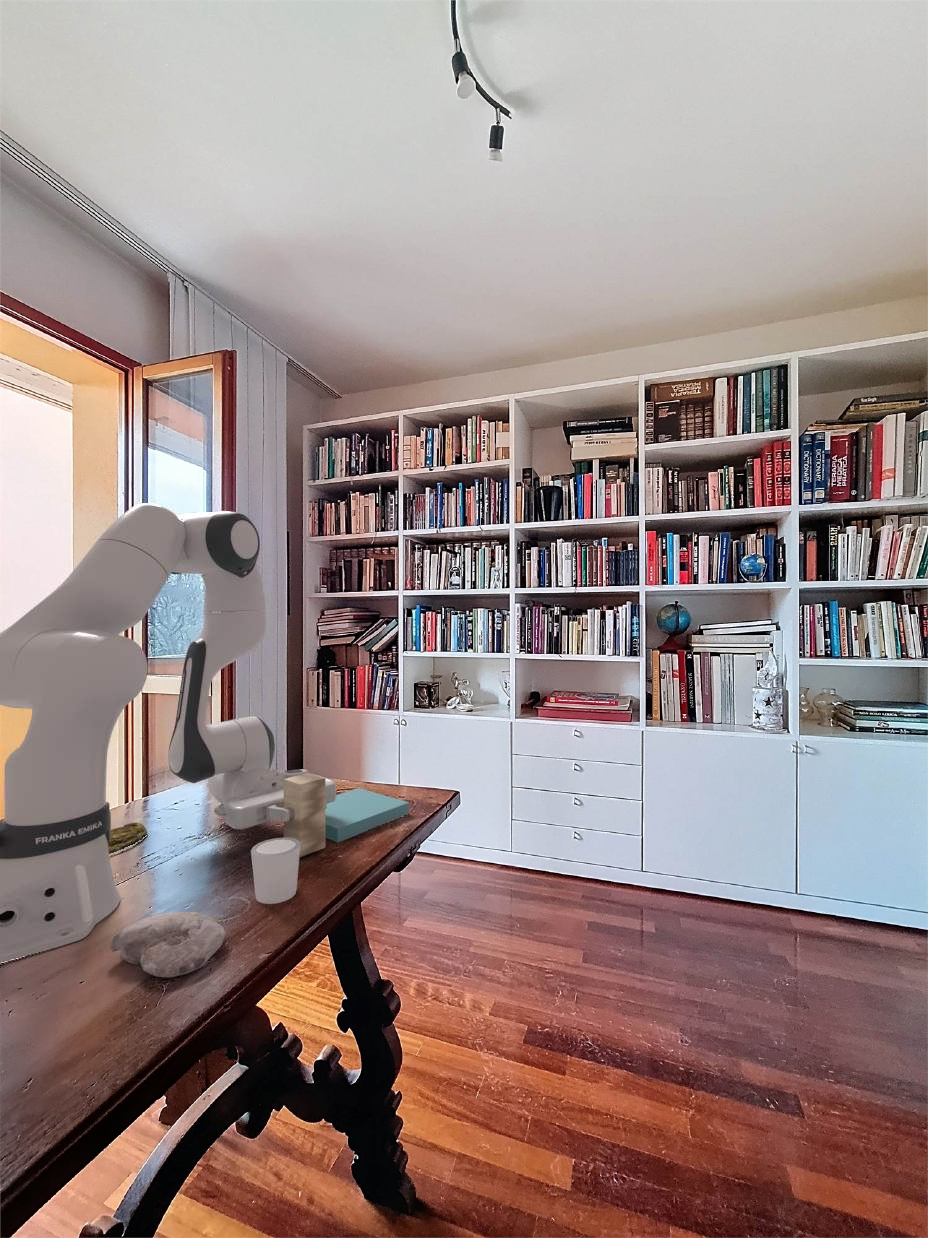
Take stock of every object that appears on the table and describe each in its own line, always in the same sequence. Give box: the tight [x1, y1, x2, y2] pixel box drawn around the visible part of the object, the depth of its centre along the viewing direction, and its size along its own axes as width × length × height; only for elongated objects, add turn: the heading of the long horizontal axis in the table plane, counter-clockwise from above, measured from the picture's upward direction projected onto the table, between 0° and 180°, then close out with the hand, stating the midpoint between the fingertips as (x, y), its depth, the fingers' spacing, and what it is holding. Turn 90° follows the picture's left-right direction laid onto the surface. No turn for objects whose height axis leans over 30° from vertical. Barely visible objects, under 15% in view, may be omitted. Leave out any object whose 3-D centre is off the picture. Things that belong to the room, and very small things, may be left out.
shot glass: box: [250, 837, 300, 905], centre depth 78 cm, size 7×7×7 cm
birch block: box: [283, 772, 326, 858], centre depth 92 cm, size 5×5×12 cm
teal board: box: [325, 787, 410, 843], centre depth 108 cm, size 18×16×2 cm
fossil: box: [109, 911, 227, 978], centre depth 64 cm, size 12×4×10 cm
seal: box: [108, 822, 148, 854], centre depth 97 cm, size 9×5×15 cm
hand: (307, 810), depth 92 cm, fingers closed on birch block, 5 cm apart
